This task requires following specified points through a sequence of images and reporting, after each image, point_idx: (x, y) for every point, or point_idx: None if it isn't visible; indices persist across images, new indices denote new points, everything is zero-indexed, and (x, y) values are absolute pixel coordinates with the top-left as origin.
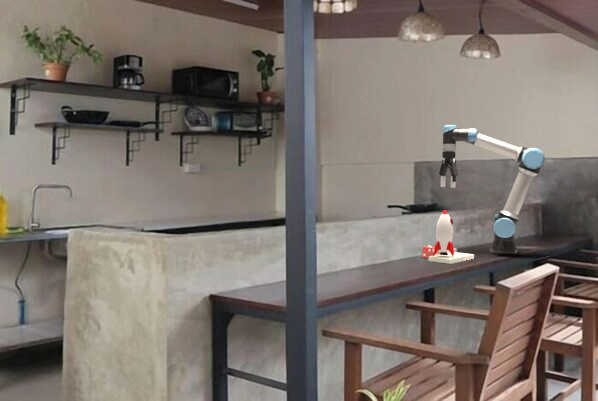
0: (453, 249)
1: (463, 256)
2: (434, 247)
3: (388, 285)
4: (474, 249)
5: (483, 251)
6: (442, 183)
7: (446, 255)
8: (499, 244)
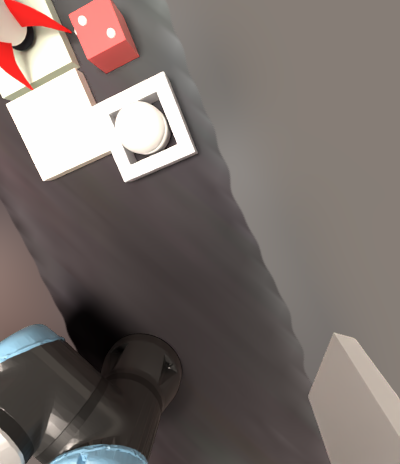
0: (13, 76)
1: (10, 109)
2: (78, 35)
3: None
4: (235, 342)
5: (186, 334)
6: (347, 395)
7: (42, 63)
8: (119, 358)
